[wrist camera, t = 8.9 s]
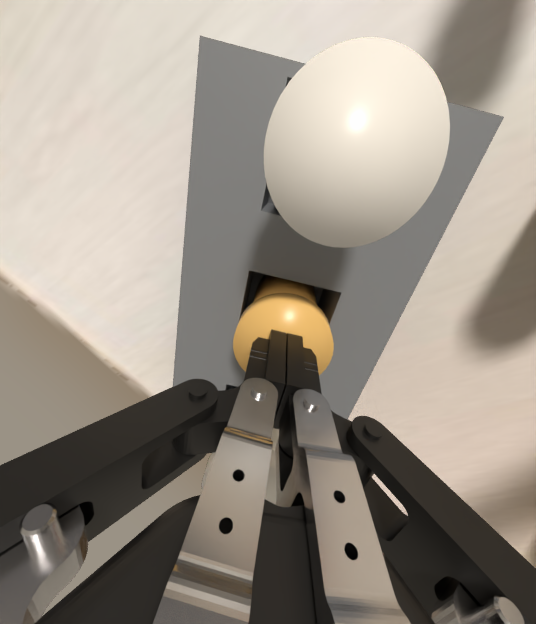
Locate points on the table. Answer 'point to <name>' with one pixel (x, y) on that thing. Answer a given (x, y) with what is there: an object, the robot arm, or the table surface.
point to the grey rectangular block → (292, 231)
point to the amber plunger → (284, 319)
